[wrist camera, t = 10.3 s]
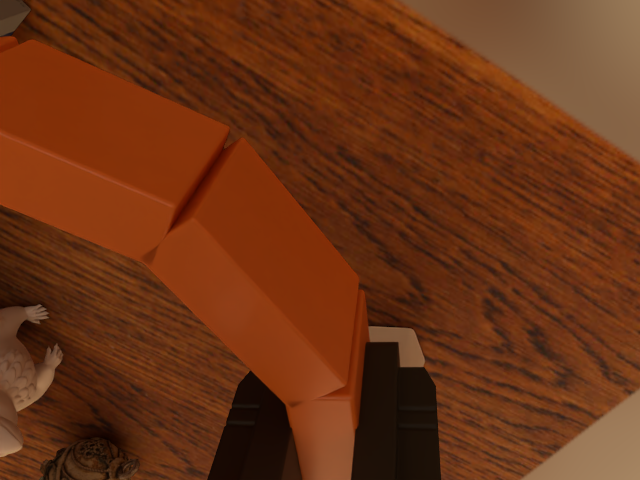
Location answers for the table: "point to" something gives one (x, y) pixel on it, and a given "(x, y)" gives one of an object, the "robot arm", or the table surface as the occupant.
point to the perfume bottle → (400, 343)
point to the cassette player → (11, 15)
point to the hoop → (192, 231)
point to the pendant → (89, 462)
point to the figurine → (20, 373)
